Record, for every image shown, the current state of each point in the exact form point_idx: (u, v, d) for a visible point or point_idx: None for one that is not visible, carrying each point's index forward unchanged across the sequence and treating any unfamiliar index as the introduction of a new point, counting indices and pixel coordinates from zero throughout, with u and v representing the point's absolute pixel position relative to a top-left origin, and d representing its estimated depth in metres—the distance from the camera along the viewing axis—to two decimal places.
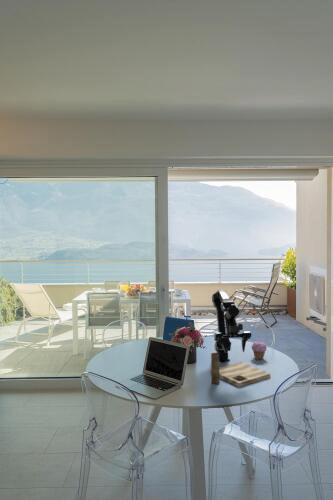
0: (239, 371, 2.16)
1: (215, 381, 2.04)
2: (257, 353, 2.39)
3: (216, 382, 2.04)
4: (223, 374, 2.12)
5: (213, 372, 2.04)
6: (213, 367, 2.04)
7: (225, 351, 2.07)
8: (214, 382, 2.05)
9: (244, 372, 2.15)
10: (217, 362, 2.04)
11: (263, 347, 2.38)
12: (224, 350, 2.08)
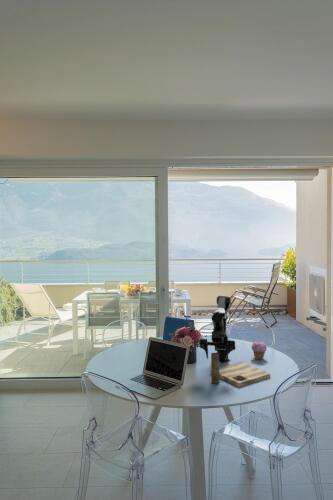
0: (239, 371, 2.16)
1: (215, 381, 2.04)
2: (257, 353, 2.39)
3: (216, 382, 2.04)
4: (223, 374, 2.12)
5: (213, 372, 2.04)
6: (213, 367, 2.04)
7: (206, 356, 2.10)
8: (214, 382, 2.05)
9: (244, 372, 2.15)
10: (217, 362, 2.04)
11: (263, 347, 2.38)
12: (206, 356, 2.11)
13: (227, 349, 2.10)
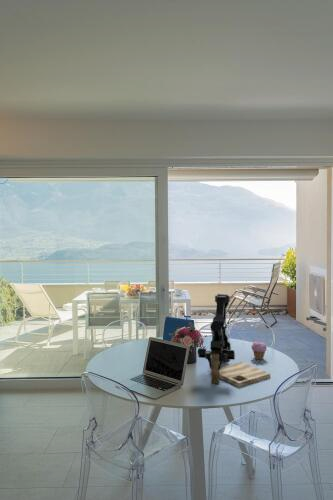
0: (239, 371, 2.16)
1: (215, 381, 2.04)
2: (257, 353, 2.39)
3: (216, 382, 2.04)
4: (223, 374, 2.12)
5: (213, 372, 2.04)
6: (213, 367, 2.04)
7: (210, 367, 2.05)
8: (214, 382, 2.05)
9: (244, 372, 2.15)
10: (217, 362, 2.04)
11: (263, 347, 2.38)
12: None
13: (221, 359, 2.06)
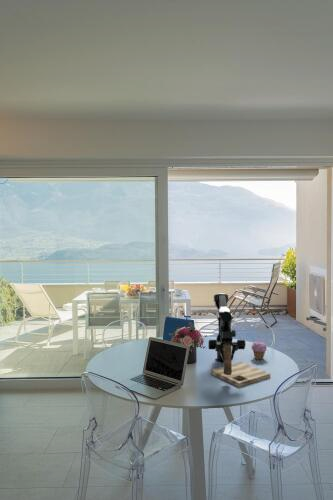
0: (239, 371, 2.16)
1: (228, 371, 2.04)
2: (257, 353, 2.39)
3: (229, 373, 2.04)
4: (223, 374, 2.12)
5: (226, 363, 2.04)
6: (226, 358, 2.03)
7: (222, 358, 2.04)
8: (227, 373, 2.04)
9: (244, 372, 2.15)
10: (230, 352, 2.03)
11: (263, 347, 2.38)
12: (222, 357, 2.05)
13: (233, 349, 2.06)
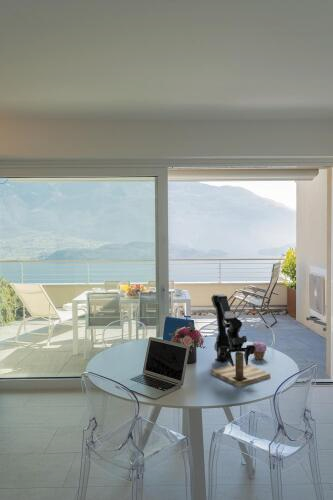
0: None
1: (241, 380, 2.05)
2: (257, 353, 2.39)
3: None
4: (223, 374, 2.12)
5: (239, 372, 2.04)
6: (239, 367, 2.04)
7: (232, 364, 2.04)
8: None
9: (244, 372, 2.15)
10: (242, 361, 2.05)
11: (263, 347, 2.38)
12: (231, 363, 2.05)
13: (247, 354, 2.07)
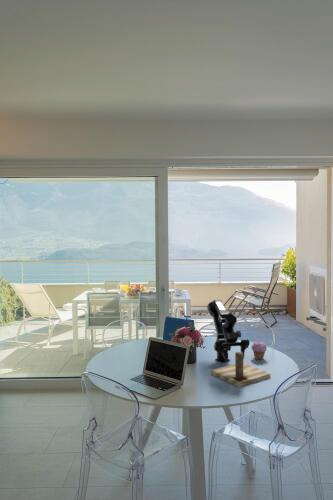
0: None
1: (241, 380, 2.05)
2: (257, 353, 2.39)
3: None
4: (223, 374, 2.12)
5: (239, 371, 2.04)
6: (239, 366, 2.04)
7: (225, 358, 2.13)
8: None
9: (244, 372, 2.15)
10: (242, 361, 2.05)
11: (263, 347, 2.38)
12: (224, 357, 2.14)
13: (243, 348, 2.17)
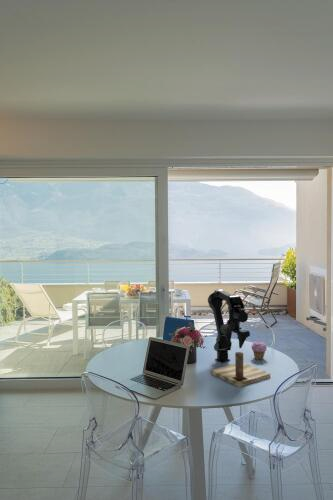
0: None
1: (241, 380, 2.05)
2: (257, 353, 2.39)
3: None
4: (223, 374, 2.12)
5: (239, 371, 2.04)
6: (239, 366, 2.04)
7: (227, 343, 2.28)
8: None
9: (244, 372, 2.15)
10: (242, 361, 2.05)
11: (263, 347, 2.38)
12: None
13: (239, 340, 2.18)
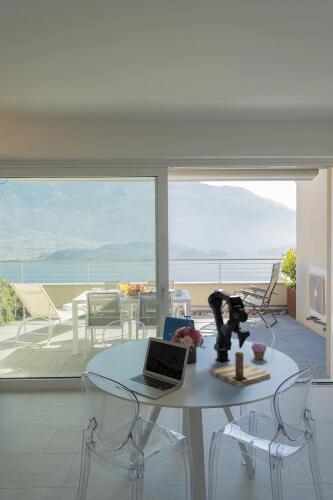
0: None
1: (241, 380, 2.05)
2: (257, 353, 2.39)
3: None
4: (223, 374, 2.12)
5: (239, 371, 2.04)
6: (239, 366, 2.04)
7: (227, 343, 2.28)
8: None
9: (244, 372, 2.15)
10: (242, 361, 2.05)
11: (263, 347, 2.38)
12: None
13: (239, 340, 2.18)
